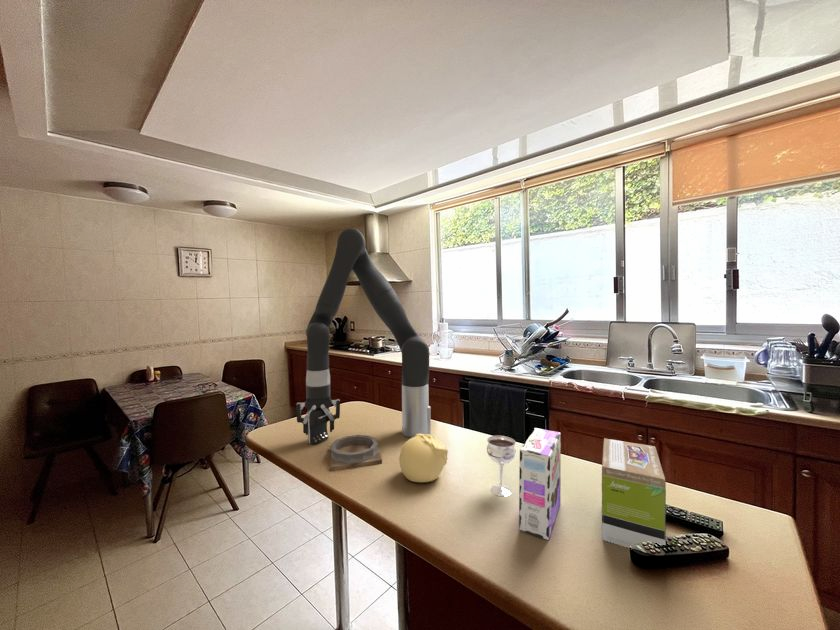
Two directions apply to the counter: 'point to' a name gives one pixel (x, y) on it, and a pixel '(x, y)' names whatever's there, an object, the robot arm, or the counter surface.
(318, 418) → the battery charger
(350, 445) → the ring collar
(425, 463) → the sculpture
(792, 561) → the counter surface
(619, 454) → the tea box
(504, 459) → the wineglass
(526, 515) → the candy box
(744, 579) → the counter surface
